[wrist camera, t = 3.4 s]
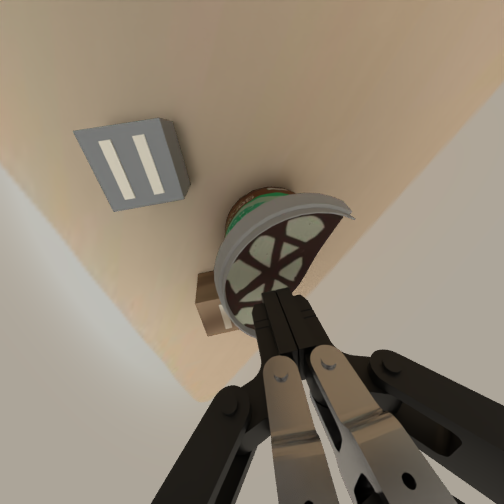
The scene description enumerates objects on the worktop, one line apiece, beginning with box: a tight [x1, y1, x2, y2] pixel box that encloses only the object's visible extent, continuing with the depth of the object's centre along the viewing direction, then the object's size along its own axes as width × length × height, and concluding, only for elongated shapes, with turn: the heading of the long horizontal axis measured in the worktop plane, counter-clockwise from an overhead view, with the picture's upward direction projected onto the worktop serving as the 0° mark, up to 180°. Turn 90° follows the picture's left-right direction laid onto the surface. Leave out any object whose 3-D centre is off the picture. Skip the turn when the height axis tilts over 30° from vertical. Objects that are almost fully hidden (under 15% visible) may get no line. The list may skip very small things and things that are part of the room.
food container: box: [214, 187, 355, 339], centre depth 18 cm, size 12×6×10 cm, turn 153°
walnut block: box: [195, 271, 239, 336], centre depth 24 cm, size 5×5×5 cm
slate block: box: [73, 118, 191, 212], centre depth 16 cm, size 5×5×5 cm
